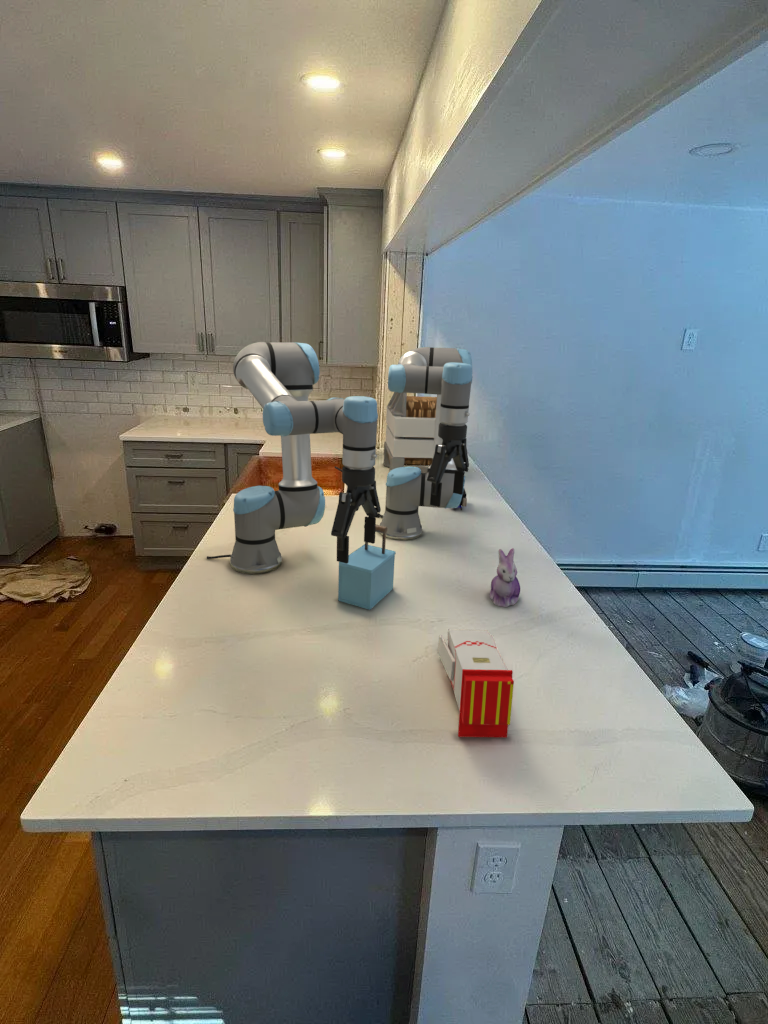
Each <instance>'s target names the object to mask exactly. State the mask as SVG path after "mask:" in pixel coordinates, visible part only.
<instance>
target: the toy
mask: <svg viewBox="0 0 768 1024" xmlns="http://www.w3.org/2000/svg"><path fill="white" fill-rule="evenodd" d="M446 640H447V643H446V641H445V639H444V636H443V635H442V634H439V637H438V646H437V656H438V657H439V659H440V661H441V663H442V666H443V668H444V670H445V672H446V674H447V677H448V679H449V681H450V684H451V687H452V690H453V693H454V697H455V701H456V705H457V708H458V711H459V714H458V715H459V716H458V730H457V731H458V732H457V737H458V738H508V731H509V726H510V725H511V717H512V707H513V697H514V696H513V695H514V684H515V680H514V679H513V673H514V671H513V670H512V669H508V667H507V665H506V662H505V661H504V659H503V658H502V655H501V653H500V651H499V649H498V647H497V643H496V639H495V637H494V635H493V634H491V632H490V631H489V629H467V628H466V629H465V628H463V629H461V628H460V629H459V628H448V630H447V639H446Z"/></svg>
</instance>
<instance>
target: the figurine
mask: <svg viewBox="0 0 768 1024" xmlns="http://www.w3.org/2000/svg"><path fill="white" fill-rule="evenodd" d="M514 558H515V548H514V547H512V548H511V549H509V551H508V553H507V555H506V554H505V551H503V549H501V548H499V549H498V565H497V568H496V574H497V575H495V576H494V577H493V578H492V579H491V582H490V591H489V599H490V600H491V601H492V602H493V604H494V605H495V606H497V607H503V608H507V607H510V606H514V605H516V603H518V601H519V597H520V594H521V584H520V581H519V579H518V577H517V576H518V569H517V567H516V564H515V561H514Z"/></svg>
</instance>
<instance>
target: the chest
mask: <svg viewBox="0 0 768 1024" xmlns="http://www.w3.org/2000/svg"><path fill="white" fill-rule="evenodd" d="M395 558H396V554H395V555H394V556H393V557H391V558H390V559H389V560H388V561H386V562H385V563H384V564H383V565H381V566H380V567H379V568H378V569H376V570H375V571H374V572H373V573H368V572H364V571H360V570H357V569H353V568H349V567H345V566H342V565H339V564H338V586H337V587H338V589H337V590H338V591H337V593H338V594H337V600H338V602H341V603H345V604H348V605H352V606H354V607H355V606H356V607H359V608H362V609H366V610H368V611H371V610H372V609H373V608H374V607H375V606H377V605H378V604H379V603H380V602H381V601H382V600H383V599H384V598H385V597H386V596H387V595H388V594H389V593H390V592H392V590H394V578H395V577H394V575H395V560H396V559H395Z"/></svg>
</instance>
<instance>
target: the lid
mask: <svg viewBox="0 0 768 1024" xmlns="http://www.w3.org/2000/svg"><path fill="white" fill-rule="evenodd" d="M387 531H388V528H387V527H385V526H381V525H380V524H376V528H375V533H379V534H380V533H383V535H382V542H381V547H379V546H375V545H371V544H369V543H368V542H364V544H363V545H361V546H360V547H358V548H357V549H355V550H354V551H353V552H351V553H349V561H348V563H347V564H346V563H342V562H338V566H339V565H342V566H345V567H349V568H353V569H357V570H360V571H364V572H368V573H373V572H374V571H375V570H376V569H378V568H379V567H380V566H381V565H383V564H384V563H385V562H386V561H388V560H389V559H390V558H391V557H393V556H394V555H395V556H396V550H392V549H388V548H386V542H387V541H386V540H387V537H386V533H387Z"/></svg>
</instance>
